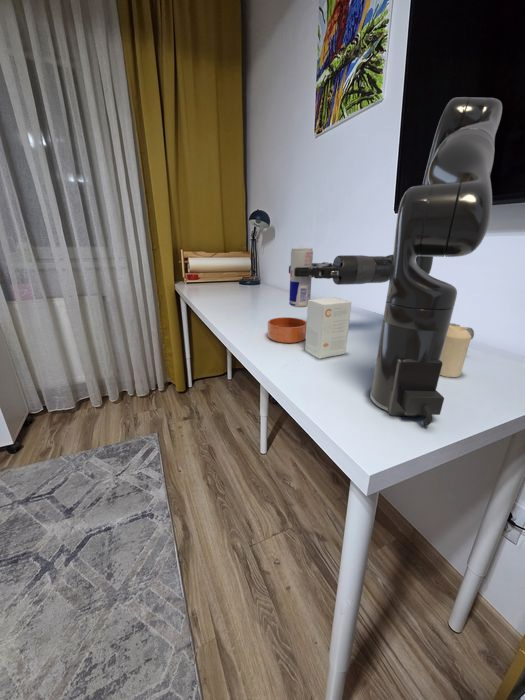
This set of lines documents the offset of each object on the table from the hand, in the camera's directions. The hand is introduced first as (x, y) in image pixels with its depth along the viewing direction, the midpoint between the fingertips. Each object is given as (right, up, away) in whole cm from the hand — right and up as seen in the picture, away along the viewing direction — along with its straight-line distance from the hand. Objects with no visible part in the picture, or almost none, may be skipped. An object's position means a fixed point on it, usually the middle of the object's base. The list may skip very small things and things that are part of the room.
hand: (291, 270), depth 75 cm
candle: (+31, -26, -13) cm, 43 cm away
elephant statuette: (+39, -22, -3) cm, 45 cm away
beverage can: (+2, -9, +4) cm, 10 cm away
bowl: (-1, -17, +7) cm, 19 cm away
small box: (+8, -21, -3) cm, 23 cm away
